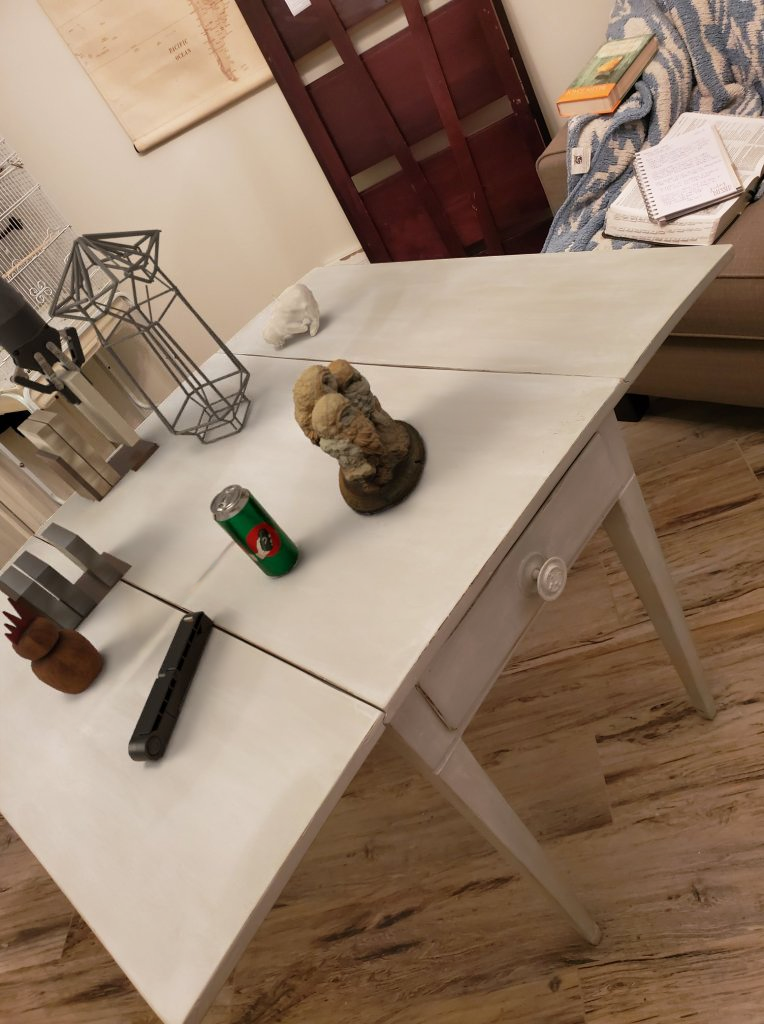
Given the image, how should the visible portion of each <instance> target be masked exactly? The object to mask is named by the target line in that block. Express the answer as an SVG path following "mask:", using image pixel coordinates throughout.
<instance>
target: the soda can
mask: <svg viewBox="0 0 764 1024" xmlns="http://www.w3.org/2000/svg"><path fill="white" fill-rule="evenodd" d="M209 510H210V512H211V513H212V518H213V521H215V523H216V524H217V525H218V526H219V527H221V529H222V530H223V531H224V532H225V534H227V536H229V537H230V538H231V539H232V541H233V542H234V543H236V545H237V546H238V547H239V548H240V549H241V550H242V551H243V552H244V554H246V556H248V557H249V559H250V560H251V561H252V562H253V563H254V564H255V565H256V566H257V567H258V569H260V570H261V571H262V572H263V573H264V575H265V576H267V577H270V578H278V577H283V576H285V575H287V574H288V573H289V572H291V570H293V569H294V568H295V566H296V565H297V563H298V561H297V560H299V557H300V549H299V547H298V546H297V545H296V543H294V541H293V540H292V539H291V538H290V536H289V535H288V534H287V533H286V531H284V530H283V528H282V527H281V526H280V525H279V523H277V521H276V519H274V518H273V517H272V515H270V513H269V512H268V511H267V510H266V508H264V506H263V505H262V504H261V503H260V502H259V500H258V499H257V498H256V497H255V496H254V495H253V493H252V492H251V491H250V490H249V489H248V488H246V487H242V486H241V485H240V484H231V485H228V486H225V488H222V489H221V490H220V491H219V492H217V493H216V495H215V496H214V497H213V498H212V500H211V502H210V505H209ZM296 562H297V563H296ZM295 564H296V565H295ZM294 565H295V566H294ZM287 572H288V573H287ZM284 574H285V575H284ZM282 575H283V576H282Z"/></svg>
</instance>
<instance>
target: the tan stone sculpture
mask: <svg viewBox="0 0 764 1024" xmlns="http://www.w3.org/2000/svg"><path fill="white" fill-rule="evenodd" d="M292 392H293V393H292V394H293V398H292V399H293V404H294V414H293V415H294V420H295V421H296V423H297V425H298V427H299V428H300V430H301V431H302V433H303V435H304V436H305V437H306V438H307V439H308V440H310V443H311V444H312V445H313V446H316V447H318V448H320V450H322V452H323V453H325V454H327V455H329V456H330V457H331V458H333V459H336V460H337V463H338V465H339V470H338V486H339V487H338V488H339V491H340V494H341V496H342V499H343V500H344V502H345V504H346V505H347V506H348V507H349V508H350V509H351V510H352V511H354V512H356V513H358V514H360V515H365V514H368V515H373V514H374V515H375V513H379V512H381V511H384V510H386V509H387V508H389V507H392V506H396V505H397V504H399V503H401V502H403V501H404V500H405V499H406V498H407V497H408V496H409V495H410V494H411V493H412V492H413V491H414V489H415V488H416V487H417V485H418V483H419V481H420V478H421V474H422V473H423V470H424V467H423V465H424V463H425V461H426V449H425V444H424V440H423V438H422V436H421V435H420V433H419V431H418V430H417V429H416V428H415V427H414V425H412V424H411V423H409V422H407V421H405V420H400V419H394V418H393V417H391V415H390V414H389V413H388V412H387V411H386V410H385V409H384V408H383V407H382V405H381V402H380V400H379V398H378V397H377V395H376V394H373V392H372V391H371V384H370V383H369V380H368V379H367V377H365V376H364V375H363V374H362V373H361V372H360V371H359V370H358V369H357V368H356V367H354V366H353V365H351V363H349V361H348V360H347V359H343V358H338V359H336V360H333V361H331V362H330V363H329V364H328V365H327V366H325V365H323V364H313V365H310V366H309V367H308V368H307V369H305V370H304V371H303V372H302V373H301V374H300V376H299V377H298V379H297V380H296V382H295V383H294V385H293V389H292ZM418 461H420V462H418ZM415 462H416V463H415ZM418 480H419V481H418ZM417 482H418V483H417ZM416 484H417V485H416ZM414 487H415V488H414ZM413 488H414V489H413ZM412 490H413V491H412ZM411 491H412V492H411ZM410 492H411V493H410ZM409 493H410V494H409ZM408 494H409V495H408ZM406 496H407V497H406ZM405 497H406V498H405ZM404 498H405V499H404ZM403 499H404V500H403Z"/></svg>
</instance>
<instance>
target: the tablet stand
mask: <svg viewBox="0 0 764 1024" xmlns="http://www.w3.org/2000/svg"><path fill="white" fill-rule="evenodd" d="M213 626H214V620H212V618H210V617H209V616H208V615H207V614H206V612H205V611H203V610H201V611H193V612H188V613H186V614H184V615H183V616H182V617H181V619H180V621H179V623H178V626H177V627H176V631H175V632H174V635H173V638H172V640H171V641H170V644H169V648H168V649H167V651H166V653H165V657H164V659H163V661H162V663H161V666H160V668H159V669H158V673H157V678H155V680H154V681H153V684H152V686H151V689H150V691H149V693H148V696H147V699H146V701H145V703H144V706H143V708H142V711H141V713H140V715H139V717H138V720H137V722H136V725H135V727H134V729H133V732H132V734H131V737H130V739H129V741H128V745H127V752H128V755H129V758H130V759H131V760H132V761H133V762H138V763H139V762H140V763H141V762H156V761H158V760H160V759H161V758H162V757H163V756H164V754H165V751H166V748H167V746H168V743H169V741H170V739H171V735H172V734H173V733H172V732H173V731H174V728H175V725H176V723H177V720H178V717H179V715H180V712H181V707H182V704H183V703H184V700H185V697H186V694H187V692H188V689H189V686H190V685H191V681H192V679H193V676H194V673H195V672H196V669H197V666H198V663H199V661H200V658H201V656H202V654H203V651H204V648H205V646H206V643H207V640H208V638H209V636H210V633H211V630H212V628H213Z"/></svg>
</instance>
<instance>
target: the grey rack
mask: <svg viewBox="0 0 764 1024" xmlns="http://www.w3.org/2000/svg"><path fill="white" fill-rule="evenodd" d="M40 536H41V537H42V538H43V539H44V540H45V541H46V542H48V543H49V544H50V545H51V546H53V547H54V548H55V549H56V550H57V551H59V552H60V553H61V554H62V555H63V556H64V557H66V558H67V559H68V560H70V561H71V562H72V563H73V564H74V565H75V566H76V567H78V568H79V569H80V570H82V572H83V574H81V575H80V577H78V579H77V580H76V581H75V582H74V583H73V582H71V581H70V580H68V578H66V577H65V576H64V575H63V574H62V573H60V572H59V571H58V570H57V569H56V568H54V567H53V566H51V565H50V564H49V563H47V562H45V560H43V559H41V558H39V557H37V556H36V555H34V554H33V553H31V552H30V551H28V550H26V549H25V550H24V551H23V552H22V553H21V554H20V555H19V556H18V557H17V558H16V559H15V560H14V561H13V562H12V565H10V566H8V568H7V569H5V571H4V572H3V573H2V574H1V575H0V592H2V593H3V594H4V595H5V596H6V597H7V598H11V599H13V600H14V601H15V602H17V603H18V604H19V605H21V606H22V607H23V608H25V609H26V610H27V611H29V612H30V613H31V614H33V615H34V616H35V617H36V618H38V617H42V618H45V619H48V620H49V621H51V622H52V623H53V624H54V625H55V626H56V628H57V630H58V631H59V630H66V629H69V630H75V631H77V629H78V628H79V627H80V626H81V625H82V624H83V623H84V621H85V620H86V619H87V618H89V616H90V615H91V613H93V612H94V610H95V609H96V608H97V606H98V605H100V603H101V602H102V601H103V600H104V599H105V598H106V597H107V595H108V594H110V592H112V590H113V589H114V587H116V585H117V584H119V582H120V581H121V580H122V578H123V577H125V575H126V574H127V573H128V572H129V571H130V570H131V568H132V567H133V565H132V564H129V563H128V562H125V561H123V560H122V559H120V558H117V557H116V556H114V555H112V554H109V553H108V552H106V551H103V552H102V553H101V554H100V553H99V552H98V551H97V550H96V549H95V548H93V546H91V545H90V544H89V543H88V542H86V541H85V540H84V538H83V537H81V536H80V535H79V534H77V533H75V532H73V531H71V530H69V529H67V528H65V527H64V526H61V525H59V524H58V523H55V522H51V523H50V524H49V525H48V526H47V527H46V528H45V529H44V530H43V531H42V532H41V533H40ZM14 566H15V567H14ZM17 568H18V569H17Z"/></svg>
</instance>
